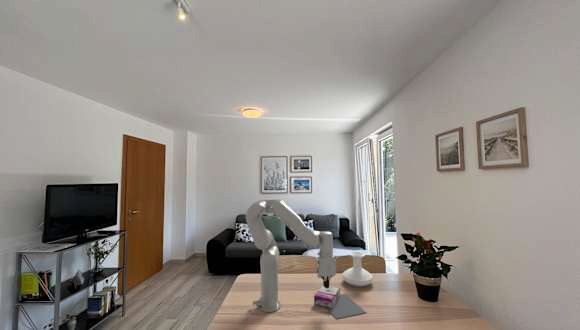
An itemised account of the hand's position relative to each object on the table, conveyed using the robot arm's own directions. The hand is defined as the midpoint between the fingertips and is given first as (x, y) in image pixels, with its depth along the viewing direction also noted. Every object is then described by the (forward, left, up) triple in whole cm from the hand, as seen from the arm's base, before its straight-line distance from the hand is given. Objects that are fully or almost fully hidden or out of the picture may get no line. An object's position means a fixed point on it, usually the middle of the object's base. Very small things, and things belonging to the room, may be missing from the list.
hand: (326, 287), depth 137 cm
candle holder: (+35, +23, -12) cm, 43 cm away
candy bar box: (-2, +1, -9) cm, 9 cm away
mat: (+9, 0, -12) cm, 15 cm away
